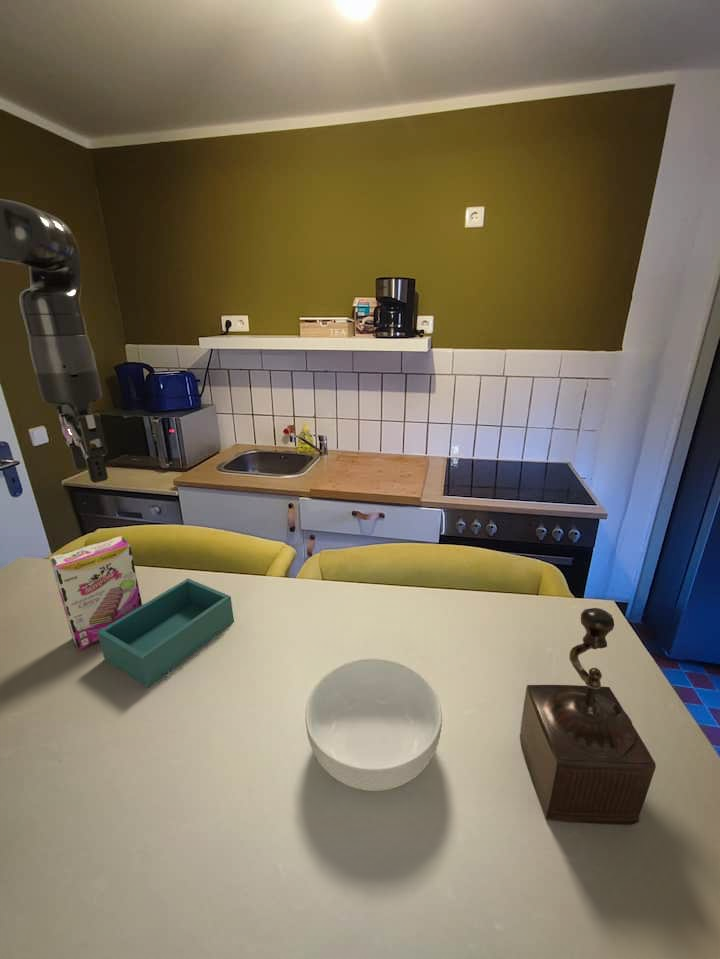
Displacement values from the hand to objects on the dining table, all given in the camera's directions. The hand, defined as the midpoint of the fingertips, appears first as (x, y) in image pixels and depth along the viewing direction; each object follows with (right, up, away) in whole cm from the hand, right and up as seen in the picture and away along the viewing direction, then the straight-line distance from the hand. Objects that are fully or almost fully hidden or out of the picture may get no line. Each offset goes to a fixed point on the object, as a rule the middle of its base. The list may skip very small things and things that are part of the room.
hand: (91, 474), depth 67 cm
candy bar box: (-3, -28, +10) cm, 30 cm away
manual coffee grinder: (+68, -36, -13) cm, 78 cm away
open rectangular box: (+9, -29, +8) cm, 31 cm away
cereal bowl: (+44, -36, -11) cm, 58 cm away
